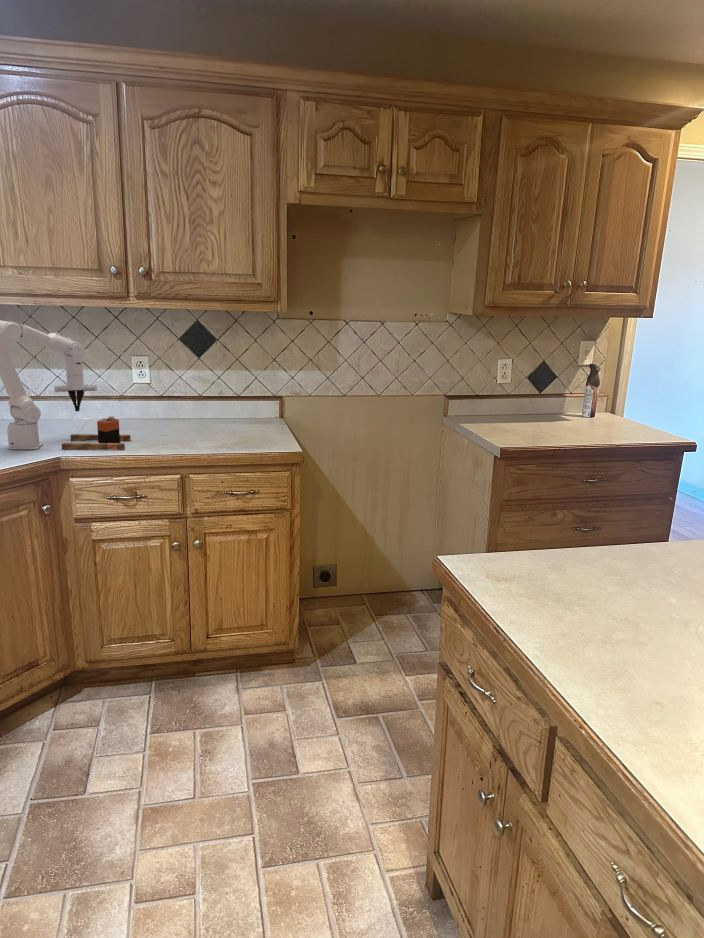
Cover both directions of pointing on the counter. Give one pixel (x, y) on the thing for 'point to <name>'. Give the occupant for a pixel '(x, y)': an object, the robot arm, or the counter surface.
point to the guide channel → (93, 445)
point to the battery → (108, 430)
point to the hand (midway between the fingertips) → (77, 410)
